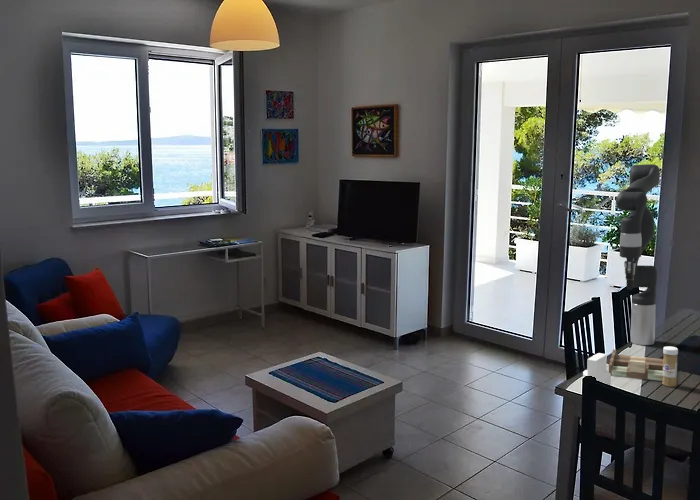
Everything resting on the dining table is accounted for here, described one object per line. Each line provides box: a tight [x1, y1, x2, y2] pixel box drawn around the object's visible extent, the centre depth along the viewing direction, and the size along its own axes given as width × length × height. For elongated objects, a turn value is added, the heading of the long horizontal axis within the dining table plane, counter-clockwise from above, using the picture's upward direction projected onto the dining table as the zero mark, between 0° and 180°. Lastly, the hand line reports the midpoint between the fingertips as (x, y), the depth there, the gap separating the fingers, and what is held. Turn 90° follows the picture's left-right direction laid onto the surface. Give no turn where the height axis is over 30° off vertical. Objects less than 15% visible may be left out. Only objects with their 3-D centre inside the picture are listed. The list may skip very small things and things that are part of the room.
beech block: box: [630, 355, 646, 373], centre depth 228 cm, size 6×5×4 cm
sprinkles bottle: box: [661, 345, 679, 387], centre depth 217 cm, size 5×5×13 cm
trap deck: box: [608, 349, 664, 382], centre depth 233 cm, size 19×19×4 cm
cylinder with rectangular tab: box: [582, 352, 612, 385], centre depth 215 cm, size 9×9×12 cm
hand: (629, 289), depth 238 cm, fingers closed
